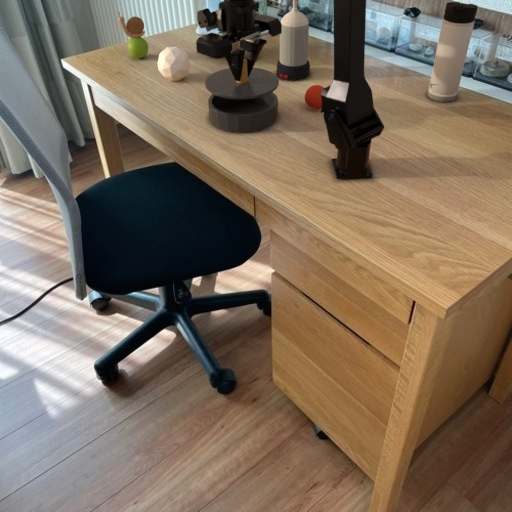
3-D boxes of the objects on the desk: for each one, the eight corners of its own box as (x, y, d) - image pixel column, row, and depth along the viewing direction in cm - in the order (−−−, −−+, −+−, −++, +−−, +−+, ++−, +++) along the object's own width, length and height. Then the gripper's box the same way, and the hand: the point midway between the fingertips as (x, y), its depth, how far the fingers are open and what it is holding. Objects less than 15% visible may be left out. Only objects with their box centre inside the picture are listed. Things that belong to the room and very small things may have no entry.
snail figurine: (123, 56, 142) (114, 9, 134) (146, 52, 144) (139, 5, 136) (128, 63, 138) (119, 15, 130) (152, 59, 140) (145, 11, 132)
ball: (328, 112, 115) (330, 90, 111) (305, 113, 114) (306, 91, 111) (325, 102, 118) (326, 80, 115) (303, 103, 118) (303, 81, 115)
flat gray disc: (282, 100, 104) (282, 74, 100) (204, 103, 103) (202, 77, 100) (275, 70, 115) (276, 45, 112) (206, 73, 115) (204, 48, 111)
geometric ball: (185, 89, 132) (198, 68, 125) (154, 84, 127) (166, 62, 121) (180, 65, 134) (192, 43, 128) (150, 59, 130) (161, 36, 123)
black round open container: (280, 131, 108) (280, 114, 106) (209, 134, 108) (207, 117, 106) (274, 100, 119) (274, 84, 117) (210, 103, 119) (208, 86, 117)
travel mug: (424, 99, 118) (443, 4, 105) (431, 88, 123) (450, -5, 110) (452, 105, 116) (475, 8, 103) (458, 93, 121) (481, -1, 107)
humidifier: (276, 81, 128) (277, -35, 111) (276, 68, 134) (277, -44, 118) (310, 80, 127) (316, -35, 111) (308, 67, 134) (314, -44, 117)
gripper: (241, -21, 107) (244, 56, 118) (172, 0, 97) (181, 82, 107) (283, -12, 102) (282, 68, 112) (214, 11, 91) (220, 97, 102)
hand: (242, 78), depth 108 cm, fingers closed on flat gray disc, 2 cm apart
